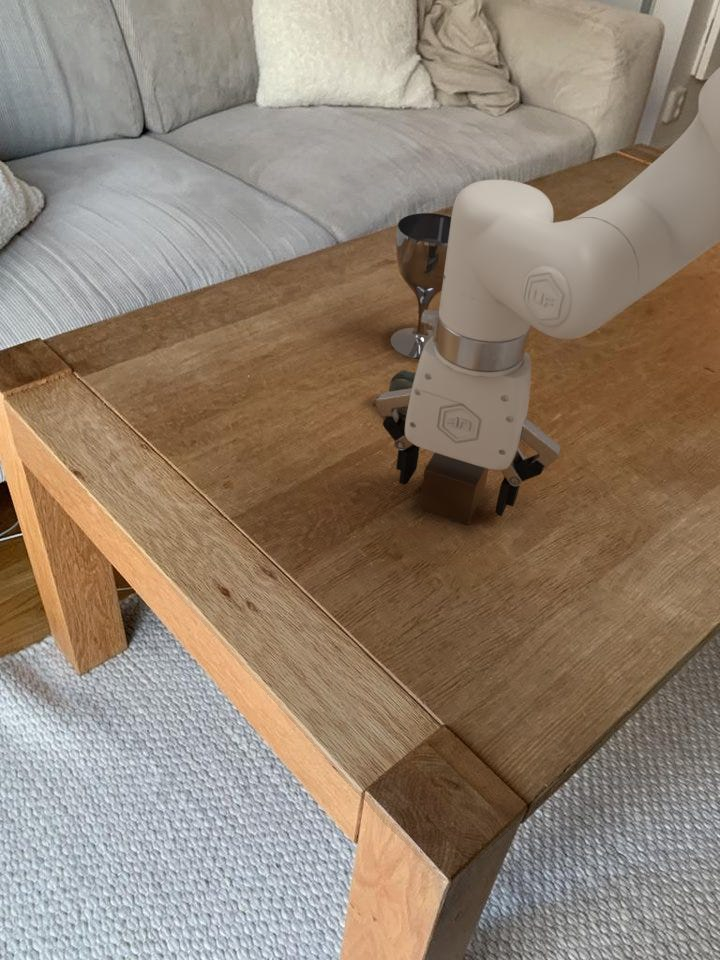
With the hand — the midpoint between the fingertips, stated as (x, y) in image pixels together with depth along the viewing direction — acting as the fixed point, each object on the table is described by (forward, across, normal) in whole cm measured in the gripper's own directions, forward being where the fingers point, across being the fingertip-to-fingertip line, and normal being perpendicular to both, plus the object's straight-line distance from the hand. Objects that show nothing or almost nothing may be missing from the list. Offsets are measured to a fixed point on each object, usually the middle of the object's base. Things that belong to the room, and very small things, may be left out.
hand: (454, 491), depth 79 cm
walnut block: (+1, 0, 0) cm, 1 cm away
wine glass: (+1, -13, +26) cm, 29 cm away
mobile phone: (+2, -6, +11) cm, 12 cm away
